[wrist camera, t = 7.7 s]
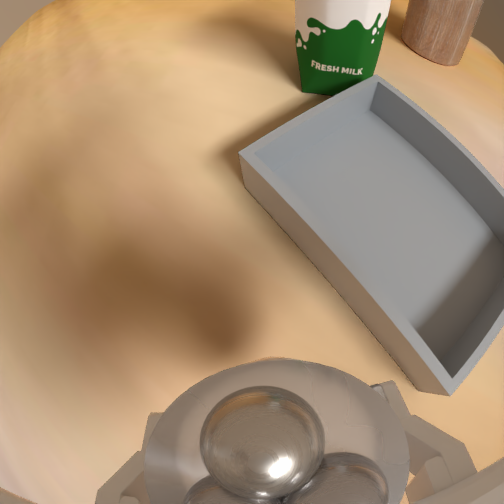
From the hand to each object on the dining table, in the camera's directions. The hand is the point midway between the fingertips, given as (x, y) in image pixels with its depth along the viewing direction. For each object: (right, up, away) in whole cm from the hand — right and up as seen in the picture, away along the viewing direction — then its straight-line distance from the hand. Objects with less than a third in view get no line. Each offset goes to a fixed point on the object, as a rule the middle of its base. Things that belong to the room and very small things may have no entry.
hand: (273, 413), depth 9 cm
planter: (+26, +36, +24) cm, 51 cm away
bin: (+12, +8, +15) cm, 20 cm away
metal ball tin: (0, -3, +5) cm, 6 cm away
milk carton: (+9, +25, +21) cm, 34 cm away
